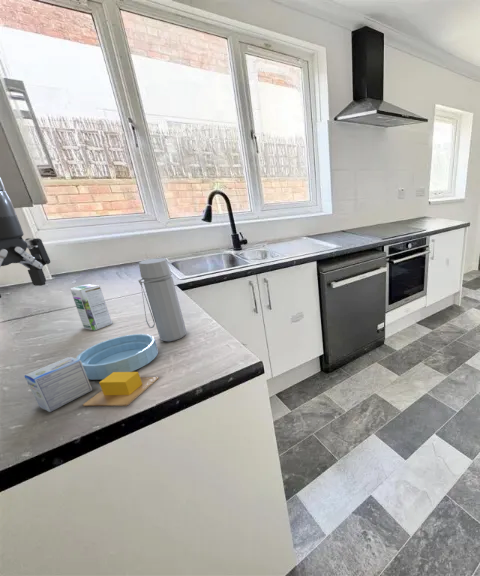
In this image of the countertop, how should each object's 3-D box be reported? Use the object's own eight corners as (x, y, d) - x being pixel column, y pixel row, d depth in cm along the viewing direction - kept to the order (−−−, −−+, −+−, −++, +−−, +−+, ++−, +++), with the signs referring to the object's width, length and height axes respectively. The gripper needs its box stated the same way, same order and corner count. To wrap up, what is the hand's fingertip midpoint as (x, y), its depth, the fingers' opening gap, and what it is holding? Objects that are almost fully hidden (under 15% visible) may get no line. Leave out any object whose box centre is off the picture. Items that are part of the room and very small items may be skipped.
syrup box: (83, 328, 105) (67, 288, 100) (102, 321, 110) (89, 283, 105) (94, 331, 103) (79, 290, 98) (113, 323, 108) (100, 284, 103)
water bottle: (186, 329, 103) (167, 256, 95) (188, 338, 97) (168, 261, 89) (152, 337, 98) (129, 261, 89) (153, 347, 92) (128, 267, 84)
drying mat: (82, 406, 68) (82, 404, 68) (119, 378, 78) (119, 377, 78) (127, 405, 68) (127, 404, 68) (158, 378, 78) (158, 376, 77)
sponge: (103, 395, 71) (98, 382, 70) (118, 384, 75) (113, 371, 74) (129, 395, 71) (125, 382, 70) (142, 384, 75) (138, 371, 74)
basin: (63, 382, 77) (56, 366, 75) (117, 347, 92) (112, 334, 91) (128, 381, 77) (122, 365, 75) (171, 347, 92) (167, 333, 90)
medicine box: (82, 386, 75) (69, 355, 72) (93, 390, 73) (81, 359, 70) (38, 408, 68) (22, 374, 65) (50, 413, 66) (34, 379, 63)
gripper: (10, 211, 68) (37, 281, 73) (-83, 218, 54) (-43, 303, 60) (44, 211, 68) (68, 281, 73) (-42, 219, 54) (-5, 304, 60)
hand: (18, 291), depth 66 cm, fingers open, 8 cm apart
